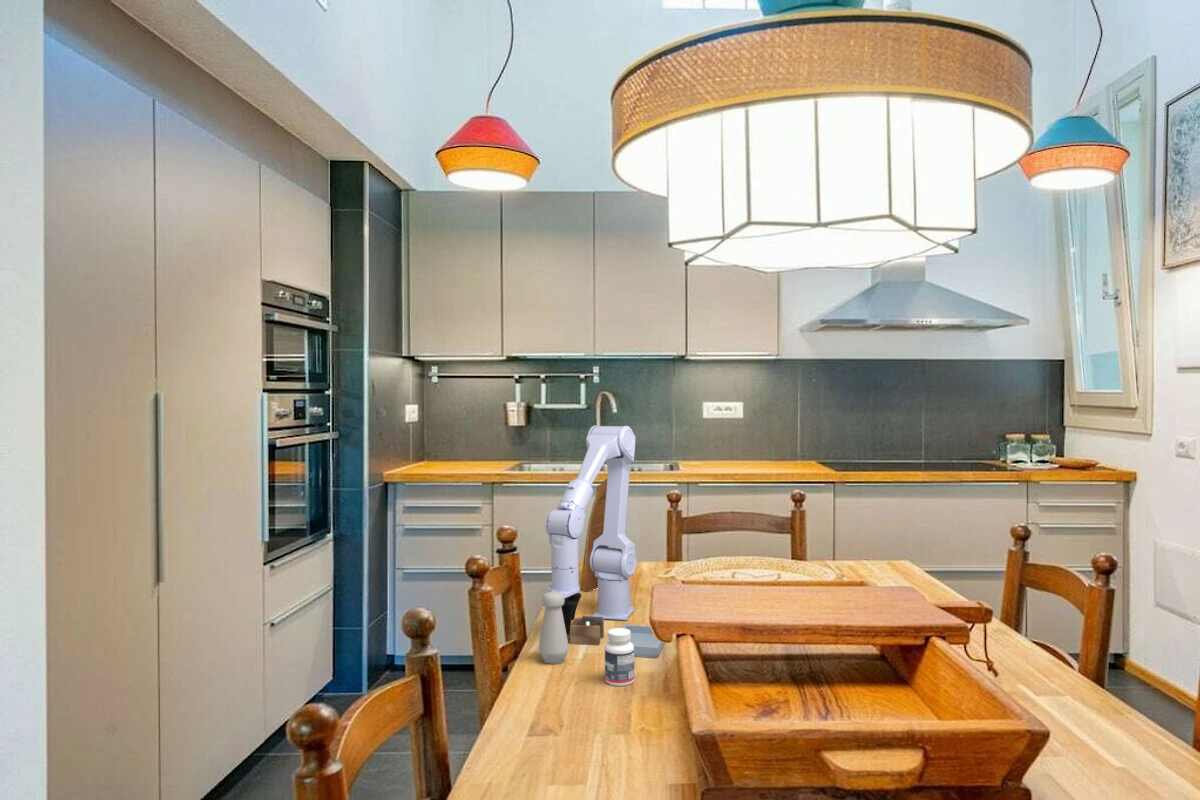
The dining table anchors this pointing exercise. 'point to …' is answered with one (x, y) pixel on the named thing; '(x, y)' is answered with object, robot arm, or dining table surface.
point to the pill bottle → (619, 658)
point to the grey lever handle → (591, 620)
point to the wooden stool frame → (585, 632)
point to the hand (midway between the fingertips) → (565, 631)
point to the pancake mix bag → (593, 536)
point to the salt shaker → (553, 629)
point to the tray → (644, 641)
